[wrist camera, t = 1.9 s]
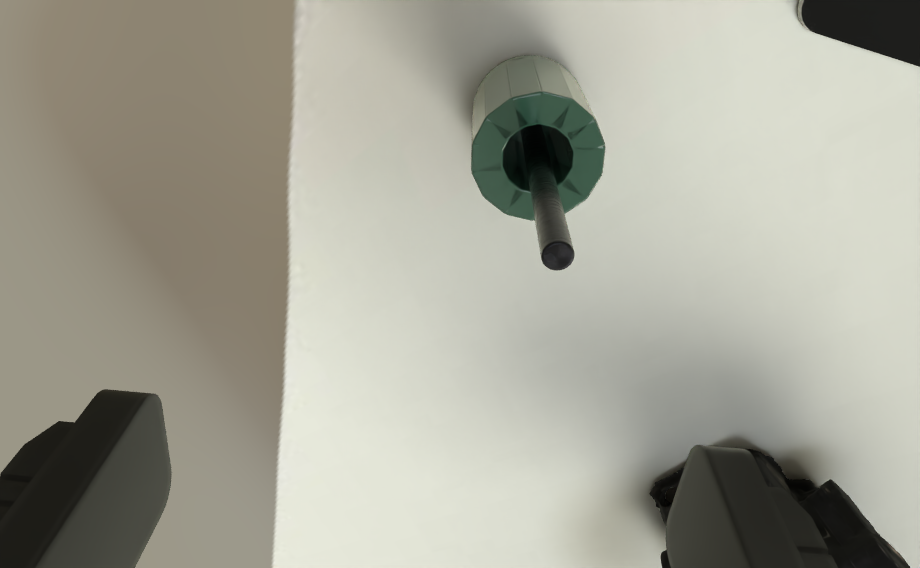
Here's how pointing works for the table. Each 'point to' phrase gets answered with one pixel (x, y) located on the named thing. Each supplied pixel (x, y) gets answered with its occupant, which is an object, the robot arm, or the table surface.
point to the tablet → (868, 24)
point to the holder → (526, 104)
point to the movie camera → (814, 518)
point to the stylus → (546, 201)
